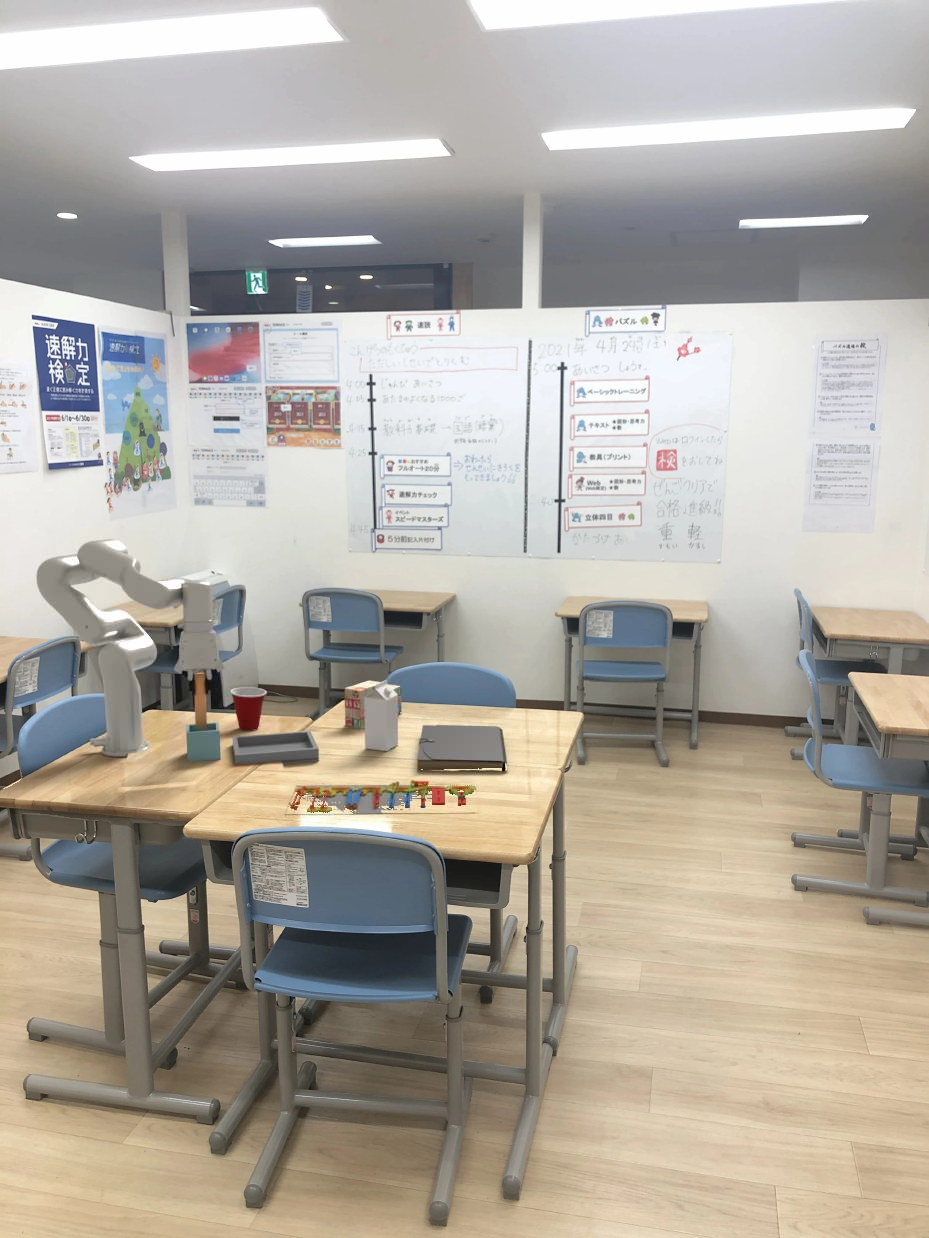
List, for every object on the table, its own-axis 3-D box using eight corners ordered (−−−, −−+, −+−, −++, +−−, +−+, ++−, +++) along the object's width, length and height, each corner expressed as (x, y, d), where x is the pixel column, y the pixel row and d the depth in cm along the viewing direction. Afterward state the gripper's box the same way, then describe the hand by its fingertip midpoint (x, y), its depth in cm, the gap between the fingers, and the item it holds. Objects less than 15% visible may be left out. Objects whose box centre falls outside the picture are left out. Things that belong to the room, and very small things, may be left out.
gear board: (475, 777, 232) (479, 805, 213) (475, 786, 233) (479, 815, 214) (296, 778, 231) (284, 806, 212) (296, 787, 231) (284, 817, 212)
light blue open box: (187, 765, 247) (186, 733, 245) (187, 755, 255) (186, 724, 253) (220, 762, 249) (219, 730, 248) (219, 753, 257) (218, 722, 256)
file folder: (422, 723, 275) (502, 725, 275) (421, 737, 276) (502, 738, 276) (416, 758, 242) (507, 759, 242) (416, 773, 243) (507, 774, 243)
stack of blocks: (386, 711, 304) (386, 674, 302) (401, 713, 300) (401, 677, 298) (344, 726, 286) (344, 687, 284) (360, 729, 282) (360, 690, 280)
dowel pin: (195, 729, 249) (193, 675, 246) (195, 726, 252) (193, 672, 249) (207, 728, 250) (205, 674, 247) (206, 725, 252) (205, 672, 250)
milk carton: (364, 749, 262) (363, 683, 259) (376, 742, 268) (375, 678, 265) (387, 752, 259) (386, 686, 256) (398, 745, 266) (397, 680, 263)
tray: (235, 768, 245) (235, 755, 244) (232, 748, 262) (232, 736, 261) (318, 761, 251) (318, 748, 250) (310, 742, 268) (310, 730, 267)
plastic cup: (263, 733, 277) (262, 694, 275) (227, 733, 277) (226, 694, 275) (271, 723, 288) (270, 686, 286) (237, 723, 288) (235, 685, 286)
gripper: (165, 630, 240) (168, 698, 243) (230, 628, 245) (231, 695, 248) (166, 625, 247) (168, 691, 250) (229, 623, 252) (230, 688, 255)
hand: (200, 692), depth 249 cm, fingers closed on dowel pin, 3 cm apart
